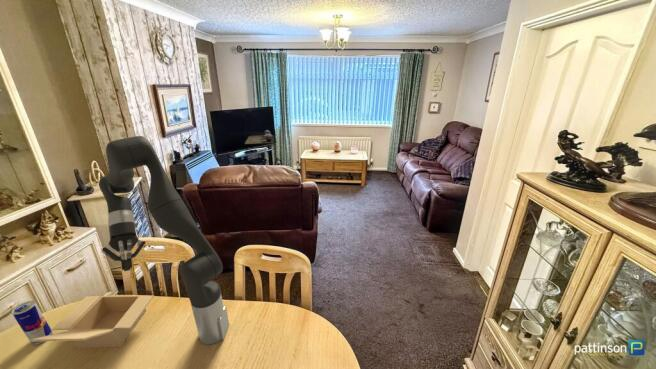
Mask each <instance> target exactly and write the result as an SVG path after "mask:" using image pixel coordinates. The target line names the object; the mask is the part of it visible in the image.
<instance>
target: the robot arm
mask: <svg viewBox="0 0 656 369" xmlns="http://www.w3.org/2000/svg"><path fill="white" fill-rule="evenodd" d="M105 154H106V161H107V165H108V174H107V175H104V176H102V177H101V178H100V179H99V181H98V187H99V189H100V191H101V193H102V195H103V197H104V199H105V202H106V205H107V206H106V207H107V213H108V215H107V216H108V217H107V218H108V219H107V221H108V222H107V223H108V224H107V226H108V232H109V242H108V245H106V246H105V247H102V249H101V253H103V254H104V255H105V256H107V257H109V258H110V259H111V260H113V261H114V262H120V267H121V271H123V272H128V271H131V269H132V267H133V263H132V262H133V261H132V259H133V258H136V257H137V256H138V254H139V253H140V251H141V250H142V248H143V247H144V246H145V244H146V241H145V240H140V239H139V237H138V236H137V231H136V224H135V222H136V221H135V218H134V213H133V206H132V200H131V199H130V198H129V197H127V196H121V195H116V194H128V193H131V192H132V191H133V190H134V189H135V180H134V176H135V169H137V168H140V167H144V166H146V167H147V169H148V171H149V175H150V176H149V177H150V185H149V186H150V187H149V190H148V192H149V193H148V197H147V210H148V211H149V213H150V214H151V215H150V216H152V218H153V219H154V221H155V223H156V225H157V226H158V227H159V228H160V229H161V230H162V231H164V232H166V233H169V234H170V235H172V236H175V237H178V238H179V239H182V241H183V240H184V241H185V242H187V244H189V245H190V246H191V247H192V248H193V249H194V250H195V251H196V253H197V254H196V255H193V257H191V258H189V259H188V260H186V261H185V262H183V263H182V264H180V267H179V268H180V269H179V272H180V276H181V279H182V282H183V284H184V288H185V292H186V295H187V297H188V299H189V301H190V307H191V310H192V314H193V317H194V323H195V326H196V329H197V333H198V337H199V340H200V342H201V343H202V344H204V345H213V344H214V345H215V344H216V343H218V342H220V341H224V340H225V338H226V335H227V332H228V328H229V327H230V322H229V315H228V310H227V306H226V305H224V301H223V296H222V291H221V286H220V285H219V283H217V282H216V281H214V280H213V279H215V278H216V277H217V276H219V275H220V274H221V273H222V272H223V269H224V266H223V262H222V261H221V258H220V256H219V255H218V254H217V251H215V249H214V248H213V246H212V245H211V244H210V242H209V241H208V239H207V238H206V237H205V235H204V234H203V233H202V231H201V229H200V228H199V226H198V225H197V223H196V221H195V219H194V218H193V216H192V215H191V214H192V213H190V211H189V209H188V207H187V205H186V204H185V202H184V200H183V199H182V197H181V196H180V195H179V192H178V191H177V190H176V188H175V186H174V184H173V183H172V181H171V180H170V178H169V177H168V175H167V173H166V170H165V169H164V166H163V165H162V162H161V161H160V159H159V156H158V154H157V153H156V151H155V148H154V147H153V145H152V143H151V142H150V140H148V139H147V137H145V136H143V135H136V136H131V137H125V138H119V139H115V140H111V141H109V142H108V143H107V144H106V147H105ZM135 246H136V247H137V248H136V249H135V251H134V252H133V253H132V250H133V249H134V247H135ZM112 249H113V251H115V252H117V253H118V255H117V254H116V253H115V252H113V251H112Z"/></svg>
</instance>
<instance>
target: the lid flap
mask: <svg viewBox="0 0 656 369" xmlns="http://www.w3.org/2000/svg"><path fill="white" fill-rule="evenodd" d="M110 332H113V330H91V331H68V330H64V331H61V332H57V333H54V334H53V333H52V335H48V336H44V337H39V338H35V339H31V340H30V341H29V342H30V343H31V342H35V341H44V342H72V341H83V340H86V339H90V338H93V337H97V336H100V335H103V334H107V333H110Z"/></svg>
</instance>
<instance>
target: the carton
mask: <svg viewBox="0 0 656 369" xmlns="http://www.w3.org/2000/svg"><path fill="white" fill-rule="evenodd" d="M154 297H155V295H153V294H152V295H93V296H92V295H91V296H90V295H86V296H85V297H84V298H82V300H81V301H80V302H78V304H77V305H75V306H74V307H73V308H72V310H69V312H68V313H67V314H66V315H65V316H64V317H63V318H62V319H60V321H58V323H57V324H55V326H53V328H52V331H62V330H63V331H91V330H113V332H110V333H107V334H103V335H100V336H97V337H93V338H90V339H86V340H83V341H73V343H74V344H75V347H76V348H103V347H104V348H109V347H111V348H113V347H114V348H115V347H122V345H123V344H124V342H125V341H126V340H127V338H128V337H129V335H130V334H131V333H132V331H133V330H134V329H135V328H136V326H137V324H139V322H140V321H141V319H142V318H143V317H144V315H145V314H146V312H147V309H146V308H147V307H148V306H149V304H150V302H152V300H153V298H154Z"/></svg>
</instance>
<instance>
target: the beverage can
mask: <svg viewBox="0 0 656 369" xmlns="http://www.w3.org/2000/svg"><path fill="white" fill-rule="evenodd" d="M11 314H12V316H13V318H14V320H15V321H16V322H17V324H18V325H19V327H20V328H21V330H22V331H23V333H24V335H25V336H26V337H27V339H28V341H29V342H30V340H31V339H35V338H39V337H44V336H48V335H52V334H53V329H52V328H51V326H50V325H49V323H48V320H46V318H45V316H44V314H43V313H42V311H41V309H40V307H39V306H38V304H37V303H36V301H34V300H28V301H24V302H22V303H20V304H18V305H16V306H15V307H14V308H12V310H11ZM44 342H45V341H35V342H30V344H32V345H38V344H42V343H44Z"/></svg>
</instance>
